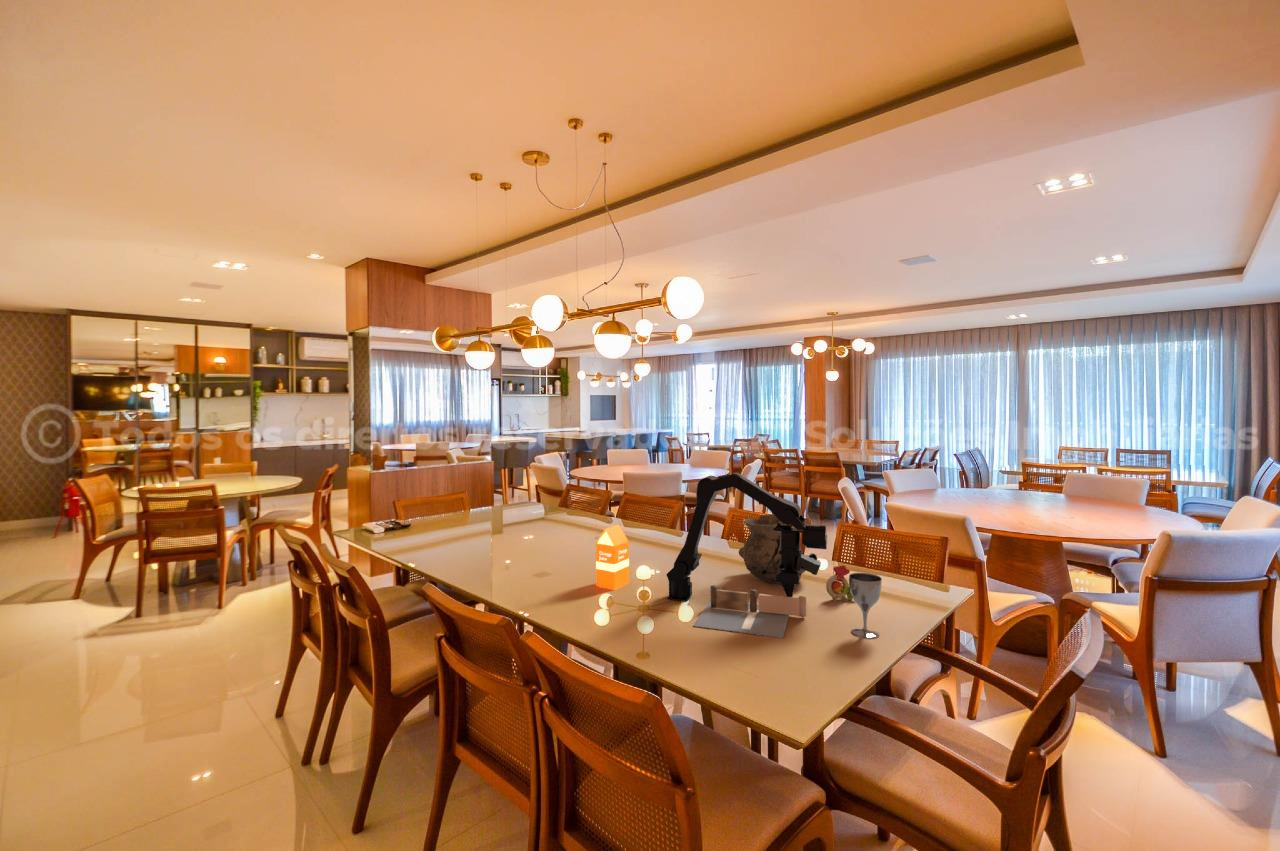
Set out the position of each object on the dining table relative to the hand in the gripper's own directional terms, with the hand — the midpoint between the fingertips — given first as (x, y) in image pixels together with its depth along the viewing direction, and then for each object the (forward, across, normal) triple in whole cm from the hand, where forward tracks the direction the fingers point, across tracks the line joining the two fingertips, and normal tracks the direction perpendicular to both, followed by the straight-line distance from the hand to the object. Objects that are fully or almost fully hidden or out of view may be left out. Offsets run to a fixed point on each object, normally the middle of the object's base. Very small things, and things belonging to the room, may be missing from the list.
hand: (790, 599), depth 164 cm
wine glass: (+4, -11, -20) cm, 23 cm away
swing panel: (+3, -5, +2) cm, 6 cm away
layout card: (+4, -10, +12) cm, 16 cm away
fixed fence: (+4, -4, +16) cm, 17 cm away
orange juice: (+4, +7, +59) cm, 59 cm away
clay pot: (+4, +30, +8) cm, 31 cm away
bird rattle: (+4, +15, -14) cm, 21 cm away
